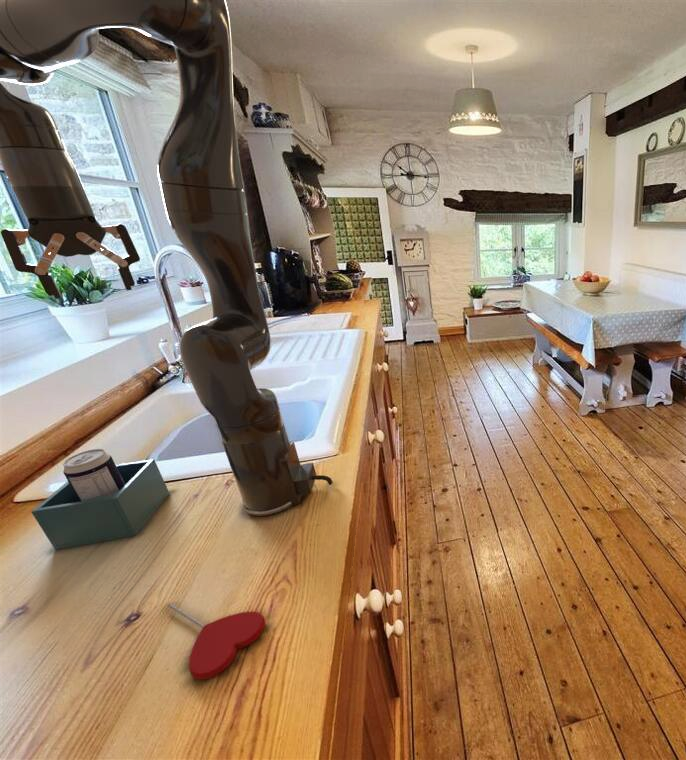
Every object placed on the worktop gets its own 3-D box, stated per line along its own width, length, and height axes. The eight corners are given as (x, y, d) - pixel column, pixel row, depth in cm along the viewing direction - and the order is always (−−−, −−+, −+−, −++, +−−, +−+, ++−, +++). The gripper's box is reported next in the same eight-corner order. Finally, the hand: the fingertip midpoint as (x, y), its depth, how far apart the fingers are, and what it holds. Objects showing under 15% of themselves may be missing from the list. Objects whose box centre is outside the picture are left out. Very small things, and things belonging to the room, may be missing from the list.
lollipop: (133, 634, 51) (207, 688, 44) (130, 629, 50) (204, 682, 44) (202, 582, 57) (274, 623, 51) (199, 578, 57) (272, 618, 51)
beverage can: (145, 505, 72) (117, 447, 67) (114, 529, 67) (81, 468, 62) (116, 504, 73) (87, 447, 68) (83, 527, 68) (48, 467, 63)
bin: (169, 493, 76) (154, 458, 73) (136, 535, 66) (116, 498, 63) (100, 504, 74) (81, 469, 71) (54, 549, 64) (30, 511, 61)
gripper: (-31, 183, 54) (30, 305, 60) (112, 183, 63) (152, 289, 69) (-21, 186, 59) (34, 298, 65) (110, 186, 68) (148, 284, 74)
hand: (95, 293), depth 67 cm, fingers open, 8 cm apart
